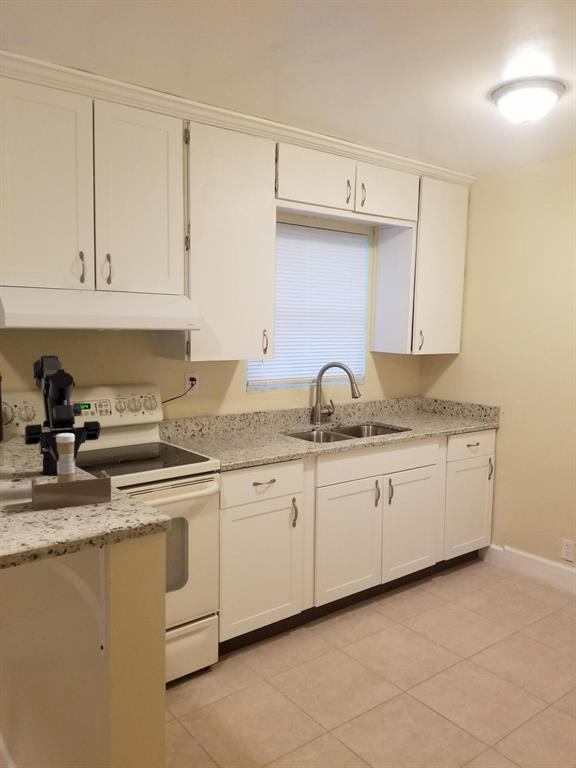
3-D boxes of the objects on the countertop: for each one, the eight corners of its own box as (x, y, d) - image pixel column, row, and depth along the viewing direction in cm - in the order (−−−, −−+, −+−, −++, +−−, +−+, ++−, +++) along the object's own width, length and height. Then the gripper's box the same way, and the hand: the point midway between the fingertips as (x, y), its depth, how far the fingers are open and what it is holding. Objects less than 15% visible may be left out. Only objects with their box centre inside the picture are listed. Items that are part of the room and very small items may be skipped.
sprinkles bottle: (59, 482, 159) (58, 432, 157) (77, 482, 159) (76, 432, 158) (54, 487, 154) (53, 435, 153) (73, 486, 155) (71, 435, 153)
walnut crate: (31, 501, 148) (31, 477, 147) (104, 493, 156) (104, 470, 155) (34, 510, 141) (34, 485, 140) (111, 501, 149) (110, 477, 148)
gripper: (24, 394, 153) (28, 444, 145) (98, 391, 162) (107, 439, 153) (22, 419, 161) (26, 469, 152) (94, 415, 170) (101, 462, 161)
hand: (66, 459), depth 155 cm, fingers closed on sprinkles bottle, 4 cm apart
